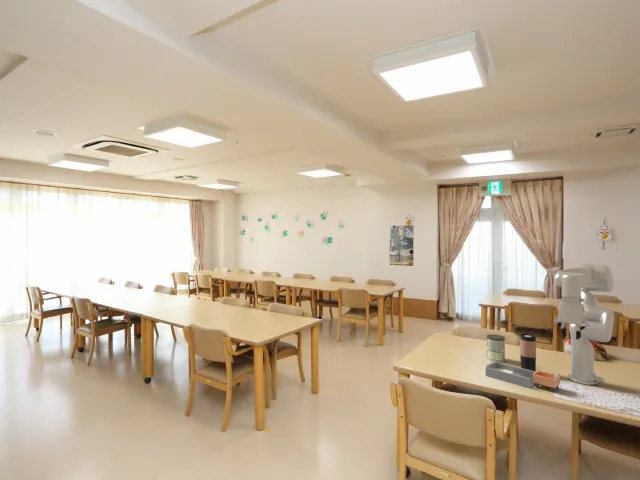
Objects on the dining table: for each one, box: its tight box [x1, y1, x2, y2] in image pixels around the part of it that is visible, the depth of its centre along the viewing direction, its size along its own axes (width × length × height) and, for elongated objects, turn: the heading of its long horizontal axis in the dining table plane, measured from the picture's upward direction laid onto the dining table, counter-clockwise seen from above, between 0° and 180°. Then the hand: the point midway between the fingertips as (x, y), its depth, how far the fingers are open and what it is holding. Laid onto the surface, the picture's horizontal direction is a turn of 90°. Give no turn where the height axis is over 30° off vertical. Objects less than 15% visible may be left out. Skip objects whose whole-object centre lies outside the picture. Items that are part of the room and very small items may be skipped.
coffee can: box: [486, 334, 506, 363], centre depth 218 cm, size 10×10×14 cm
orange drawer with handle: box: [532, 369, 561, 393], centre depth 177 cm, size 10×8×8 cm
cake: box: [564, 338, 612, 361], centre depth 226 cm, size 23×24×10 cm
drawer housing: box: [485, 361, 536, 389], centre depth 189 cm, size 22×13×6 cm, turn 42°
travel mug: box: [519, 333, 537, 372], centre depth 200 cm, size 8×8×20 cm
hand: (571, 337), depth 169 cm, fingers open, 4 cm apart
